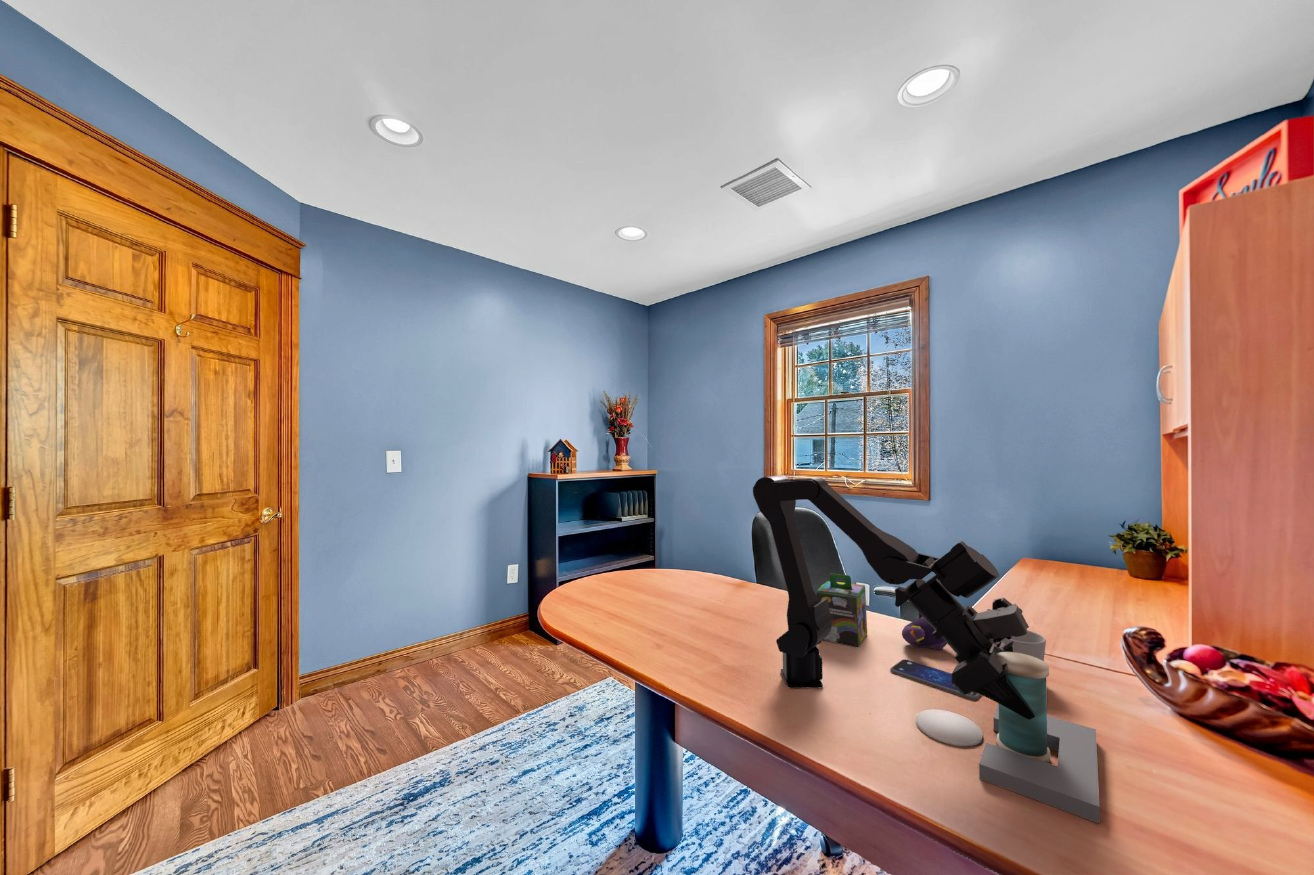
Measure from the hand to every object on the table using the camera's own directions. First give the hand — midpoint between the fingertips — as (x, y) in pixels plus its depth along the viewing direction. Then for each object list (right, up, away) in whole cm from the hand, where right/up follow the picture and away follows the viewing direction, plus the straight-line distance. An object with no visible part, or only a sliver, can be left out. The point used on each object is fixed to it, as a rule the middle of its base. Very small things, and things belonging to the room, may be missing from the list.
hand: (1034, 708), depth 70 cm
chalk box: (-11, -8, +43) cm, 45 cm away
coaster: (-8, -7, +7) cm, 13 cm away
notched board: (+1, -7, 0) cm, 7 cm away
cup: (+14, -7, +23) cm, 27 cm away
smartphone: (-1, -8, +23) cm, 24 cm away
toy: (+6, -7, +36) cm, 38 cm away
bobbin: (-1, -7, +1) cm, 7 cm away
